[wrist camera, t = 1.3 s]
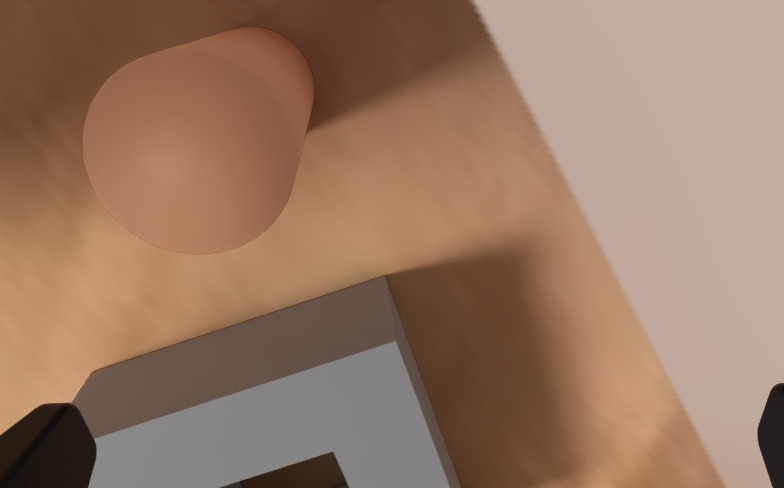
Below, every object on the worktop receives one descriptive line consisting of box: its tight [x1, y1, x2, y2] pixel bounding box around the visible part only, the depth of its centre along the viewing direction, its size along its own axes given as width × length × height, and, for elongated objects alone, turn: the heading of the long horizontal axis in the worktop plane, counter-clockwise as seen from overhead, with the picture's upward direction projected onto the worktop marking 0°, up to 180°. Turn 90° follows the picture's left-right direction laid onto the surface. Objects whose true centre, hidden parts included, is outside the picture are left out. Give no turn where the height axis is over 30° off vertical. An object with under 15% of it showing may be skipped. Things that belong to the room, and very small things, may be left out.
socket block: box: [72, 276, 461, 488], centre depth 25 cm, size 12×12×5 cm
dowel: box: [82, 27, 314, 255], centre depth 17 cm, size 4×4×10 cm
